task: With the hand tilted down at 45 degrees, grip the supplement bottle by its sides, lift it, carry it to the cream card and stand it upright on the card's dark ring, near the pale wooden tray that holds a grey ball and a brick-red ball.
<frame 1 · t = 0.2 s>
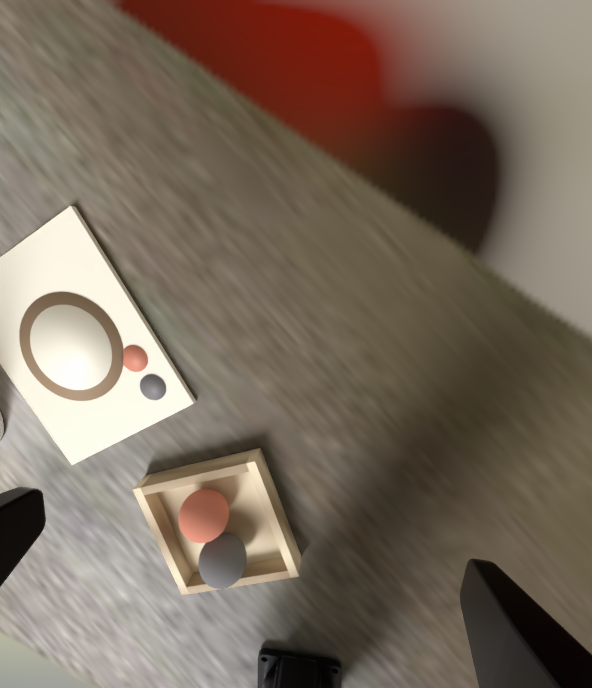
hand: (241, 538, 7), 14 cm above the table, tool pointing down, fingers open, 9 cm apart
grey ball: (230, 540, 24), resting on masu tray
target card: (75, 346, 23), on the table
red ball: (212, 498, 24), resting on masu tray
masu tray: (223, 515, 24), on the table
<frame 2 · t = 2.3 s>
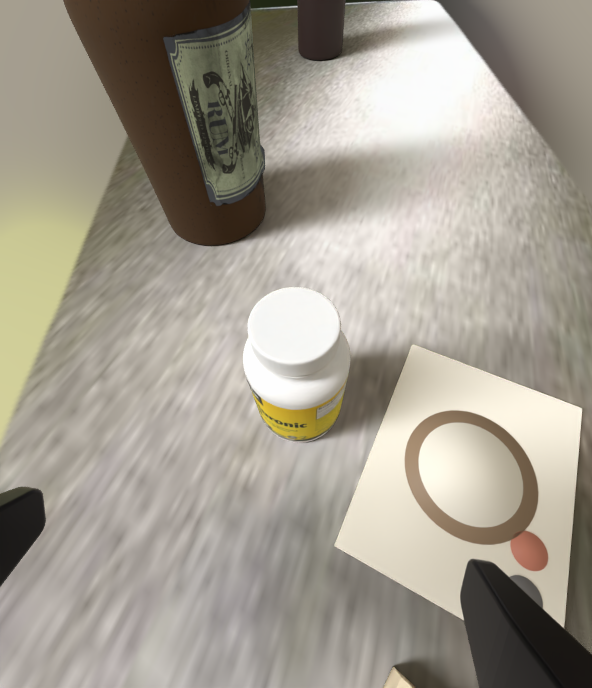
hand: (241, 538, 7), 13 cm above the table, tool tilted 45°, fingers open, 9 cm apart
target card: (466, 472, 20), on the table
brown rum bottle: (219, 215, 33), on the table
supplement bottle: (299, 405, 23), on the table
vinegar: (320, 53, 53), on the table
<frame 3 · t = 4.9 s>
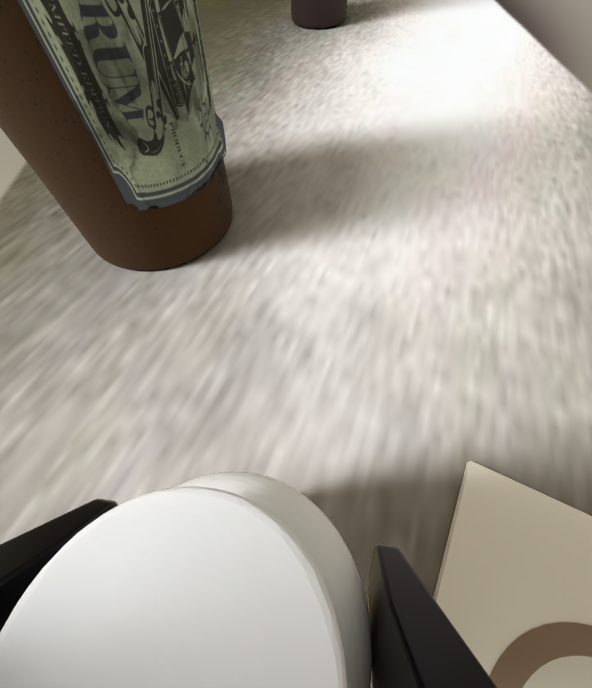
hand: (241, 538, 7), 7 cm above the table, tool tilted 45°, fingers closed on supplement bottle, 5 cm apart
brown rum bottle: (164, 224, 23), on the table
supplement bottle: (263, 589, 12), on the table, touching gripper
vinegar: (318, 22, 42), on the table
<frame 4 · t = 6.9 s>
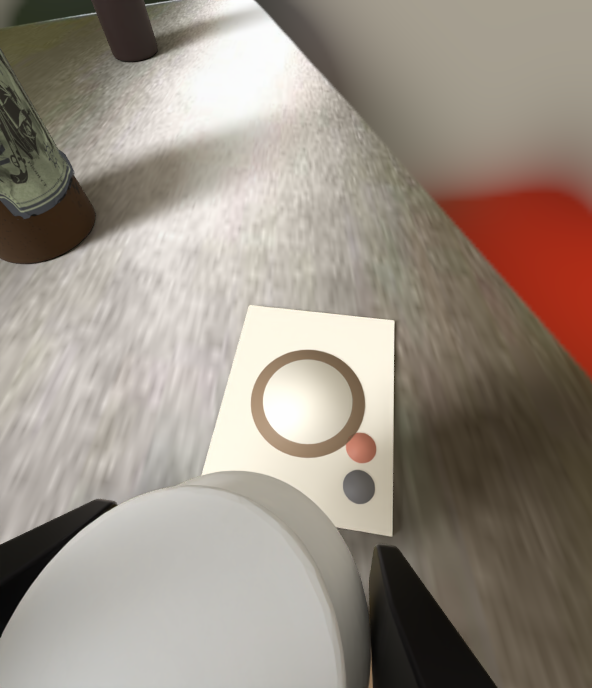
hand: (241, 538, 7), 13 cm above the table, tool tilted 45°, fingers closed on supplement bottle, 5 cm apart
target card: (307, 401, 22), on the table
brown rum bottle: (47, 230, 32), on the table
supplement bottle: (264, 587, 12), point 6 cm above the table, touching gripper
vinegar: (137, 55, 52), on the table
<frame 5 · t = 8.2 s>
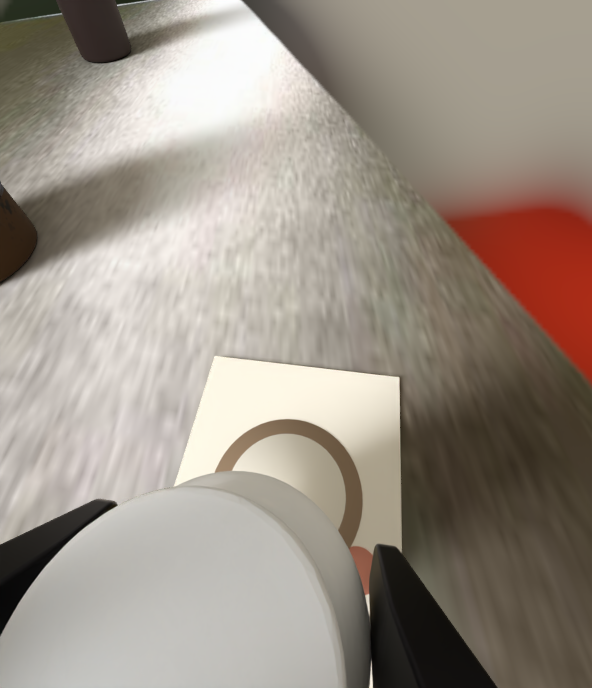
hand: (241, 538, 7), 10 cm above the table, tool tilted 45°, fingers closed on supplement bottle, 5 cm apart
target card: (285, 494, 17), on the table
supplement bottle: (264, 588, 12), point 3 cm above the table, touching gripper
vinegar: (108, 55, 47), on the table
when the fingers open (8 cm above the table, at t = 9.4 s): supplement bottle stays where it is, resting on target card.
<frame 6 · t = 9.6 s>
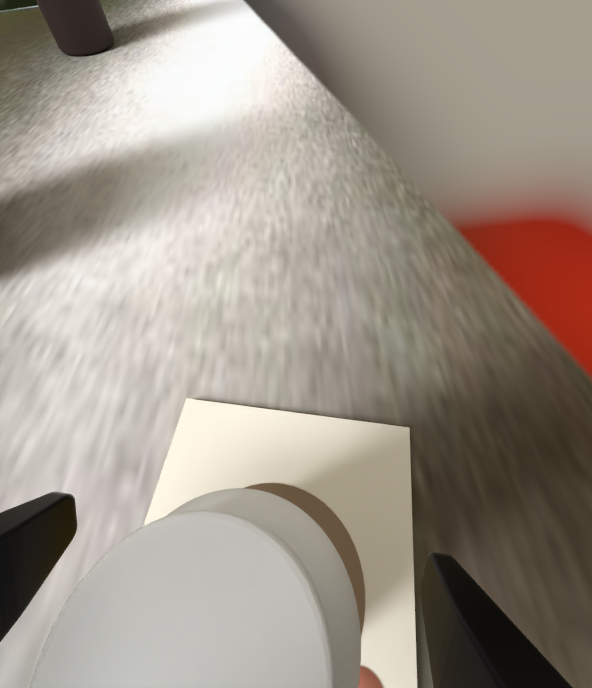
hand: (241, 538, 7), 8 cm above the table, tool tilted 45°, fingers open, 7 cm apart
target card: (268, 586, 13), on the table
supplement bottle: (266, 591, 13), resting on target card
vinegar: (89, 48, 44), on the table
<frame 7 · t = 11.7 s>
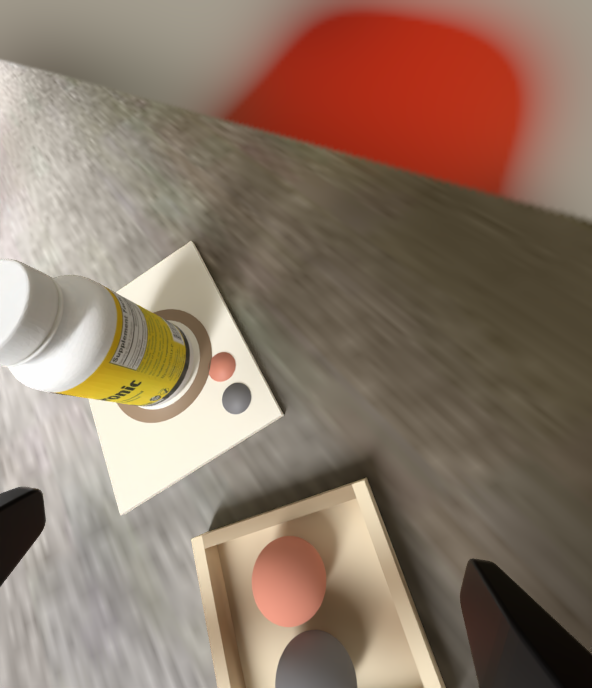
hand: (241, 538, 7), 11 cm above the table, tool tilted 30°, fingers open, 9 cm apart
grey ball: (323, 659, 15), resting on masu tray
target card: (163, 364, 22), on the table
red ball: (298, 566, 16), resting on masu tray
supplement bottle: (161, 366, 21), resting on target card
masu tray: (312, 607, 16), on the table
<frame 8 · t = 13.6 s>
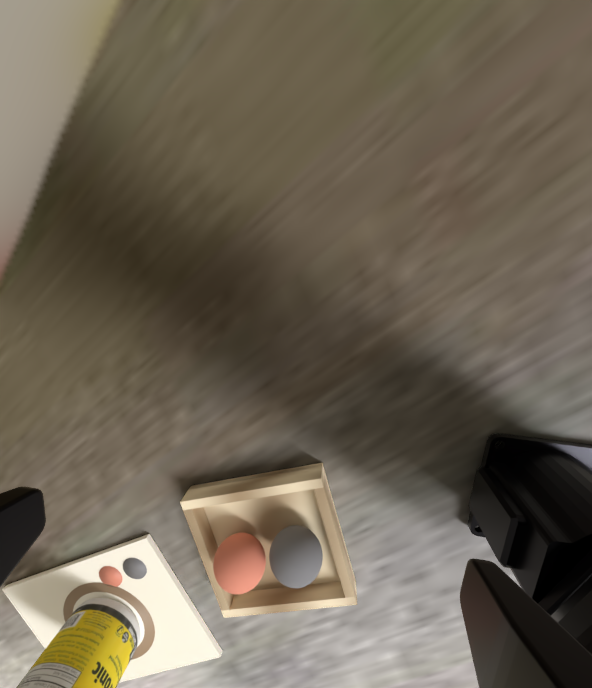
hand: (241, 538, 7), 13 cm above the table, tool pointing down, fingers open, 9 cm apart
grey ball: (298, 534, 22), resting on masu tray
target card: (112, 617, 26), on the table
red ball: (246, 541, 22), resting on masu tray
supplement bottle: (111, 620, 26), resting on target card
masu tray: (273, 533, 22), on the table
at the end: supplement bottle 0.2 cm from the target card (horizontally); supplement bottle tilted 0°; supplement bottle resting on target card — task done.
